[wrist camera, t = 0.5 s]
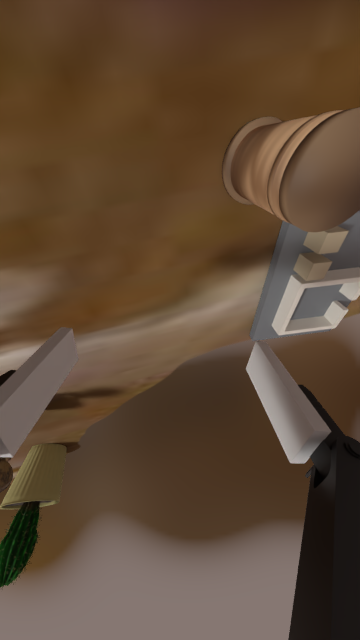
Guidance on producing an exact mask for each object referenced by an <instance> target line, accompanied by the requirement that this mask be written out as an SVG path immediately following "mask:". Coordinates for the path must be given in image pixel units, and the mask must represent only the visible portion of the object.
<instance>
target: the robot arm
mask: <svg viewBox="0 0 360 640" xmlns="http://www.w3.org/2000/svg"><path fill="white" fill-rule="evenodd" d="M77 361H78V354H77V349H76V345H75V340H74V335H73V330H72V328H60V329H59V330H58V331H57V332H55V333H54V334H53V335H52V336H51V337H50V338H49V339H48V340H47V341H46V342H45V343H44V344H43V345H42V346H41V347H40V348H39V349H38V350H37V351H36V352H35V353H34V354H33V355H32V356H31V357H30V358H29V359H28V360H27V361H26V362H25V363H24V364H23V365H22V366H21V367H20V368H19V369H18V370H10V371H8V372H7V373H5V374H3V375H1V376H0V457H13V456H14V455H15V453H16V452H17V450H18V449H19V447H20V446H21V444H22V443H23V441H24V440H25V438H26V437H27V435H28V434H29V432H30V431H31V429H32V428H33V426H34V425H35V423H36V422H37V420H38V419H39V417H40V416H41V414H42V413H43V412H44V410H45V409H46V407H47V406H48V404H49V403H50V401H51V400H52V398H53V397H54V395H55V394H56V392H57V391H58V389H59V388H60V386H61V385H62V383H63V382H64V380H65V379H66V377H67V376H68V374H69V373H70V371H71V370H72V368H73V367H74V365H75V364H76V362H77ZM246 370H247V372H248V374H249V376H250V379H251V381H252V383H253V385H254V387H255V389H256V391H257V393H258V395H259V398H260V400H261V402H262V404H263V406H264V408H265V410H266V413H267V414H268V417H269V419H270V421H271V423H272V425H273V427H274V430H275V432H276V434H277V436H278V438H279V440H280V442H281V444H282V447H283V449H284V451H285V453H286V455H287V457H288V459H289V461H290V463H305V462H306V461H307V460H308V459H309V458H311V459H312V461H313V463H314V465H313V466H312V467H311V469H310V470H309V471H308V472H307V473H306V475H305V476H306V477H307V478H308V477H309V476H310V475H311V478H310V486H309V493H308V500H307V508H306V515H305V522H304V530H303V537H302V544H301V552H300V559H299V566H298V574H297V581H296V589H295V596H294V603H293V610H292V618H291V626H290V632H289V640H360V443H359V442H358V441H356V440H355V439H353V438H351V437H348V436H345V435H344V434H343V432H342V431H341V430H340V429H339V427H338V426H337V425H336V423H335V422H334V421H333V419H332V418H331V417H330V416H329V414H328V413H327V412H326V411H325V409H324V408H322V405H321V404H320V403H319V402H318V401H317V399H316V398H315V396H314V395H313V394H312V393H311V392H310V391H309V390H308V389H307V388H306V387H304V386H303V385H297V384H296V382H295V381H294V380H293V378H292V377H291V375H290V374H289V373H288V371H287V370H286V369H285V367H284V366H283V364H282V363H281V362H280V360H279V359H278V358H277V356H276V355H275V354H274V352H273V351H272V349H271V348H270V347H269V345H268V344H267V343H266V342H263V341H256V343H255V345H254V348H253V351H252V353H251V356H250V359H249V362H248V365H247V367H246Z"/></svg>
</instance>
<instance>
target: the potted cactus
mask: <svg viewBox="0 0 360 640" xmlns="http://www.w3.org/2000/svg"><path fill="white" fill-rule="evenodd" d="M66 451H67V448H66V446H64V445H60V444H40V445H35V446H33V447H32V448H31V449H30V451H29V453H28V455H27V457H26V459H25V461H24V462H23V464H22V466H21V468H20V470H19V472H18V474H17V475H16V477H15V479H14V481H13V483H12V485H11V487H10V489H9V490H8V492H7V494H6V496H5V498H4V500H3V502H2V504H1V506H0V508H1V509H19V511H18V513H17V514H16V516H14V517H15V518H14V520H13V522H12V524H11V526H10V529H9V530H8V531H9V532H6V533H7V535H6V536H5V537H4V539H3V540H2V541H1V544H0V587H2V586H4V585H9V584H10V583H12V581H13V580H15V579H16V578H17V576H18V574H20V573H21V572H22V570H23V568H24V567H25V566H26V564H27V561H28V560H29V558H30V556H31V555H32V552H33V550H34V547H35V543H36V542H37V538H39V537H38V533H37V530H36V528H37V523H38V519H39V507H41V506H47V505H52V504H56V503H58V502H59V499H60V493H61V486H62V479H63V472H64V464H65V458H66Z"/></svg>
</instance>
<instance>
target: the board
mask: <svg viewBox="0 0 360 640" xmlns="http://www.w3.org/2000/svg"><path fill="white" fill-rule="evenodd" d="M359 295H360V210H359V211H358V212H357V213H355V214H354V215H353V216H352V217H350V218H349V219H348V220H346V221H345V222H343V223H342V224H340V225H338V226H336V227H334V228H332V229H329V230H326V231H322V232H306V231H303V230H301V229H300V228H298V227H296V226H294V225H292V224H290V223H288V222H285V221H283V222H282V226H281V229H280V232H279V236H278V239H277V243H276V246H275V250H274V253H273V256H272V260H271V263H270V267H269V270H268V274H267V277H266V280H265V284H264V287H263V291H262V294H261V298H260V301H259V304H258V308H257V311H256V315H255V318H254V322H253V325H252V329H251V332H250V337H251V339H252V341H256V340H264V339H271V338H279V337H286V336H293V335H301V334H309V333H316V332H324V331H330V330H331V329H332V328H336V326H337V325H338V324H339V322H340V321H341V320H342V318H343V317H344V315H345V314H346V313H347V311H348V309H347V308H346V307H347V306H348V305H349V303H350V302H351V300H356V299H357V298H358V296H359Z"/></svg>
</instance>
